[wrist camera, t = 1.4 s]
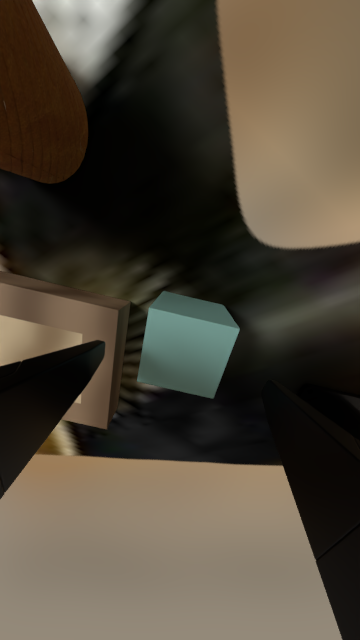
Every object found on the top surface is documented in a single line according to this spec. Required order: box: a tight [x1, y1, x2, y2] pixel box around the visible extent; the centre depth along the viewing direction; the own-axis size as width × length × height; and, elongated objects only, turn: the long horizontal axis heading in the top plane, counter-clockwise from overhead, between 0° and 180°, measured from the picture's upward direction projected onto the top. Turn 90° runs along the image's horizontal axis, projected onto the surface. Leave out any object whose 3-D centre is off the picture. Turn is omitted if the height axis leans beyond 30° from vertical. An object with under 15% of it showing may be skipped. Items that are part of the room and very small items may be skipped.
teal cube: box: [137, 291, 240, 399], centre depth 12 cm, size 5×5×5 cm
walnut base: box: [0, 271, 131, 429], centre depth 15 cm, size 12×12×2 cm
